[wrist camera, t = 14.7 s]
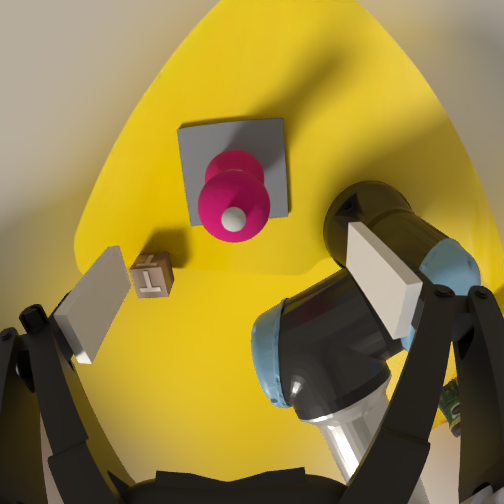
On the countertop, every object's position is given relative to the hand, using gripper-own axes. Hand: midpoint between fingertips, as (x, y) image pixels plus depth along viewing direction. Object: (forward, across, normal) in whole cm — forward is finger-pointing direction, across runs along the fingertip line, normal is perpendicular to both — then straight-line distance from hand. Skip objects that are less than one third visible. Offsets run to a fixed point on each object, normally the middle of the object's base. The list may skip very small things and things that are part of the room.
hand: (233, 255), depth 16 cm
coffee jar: (+26, -60, +69) cm, 95 cm away
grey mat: (+25, 0, 0) cm, 25 cm away
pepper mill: (+25, 0, 0) cm, 25 cm away
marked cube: (+26, +14, +13) cm, 32 cm away
